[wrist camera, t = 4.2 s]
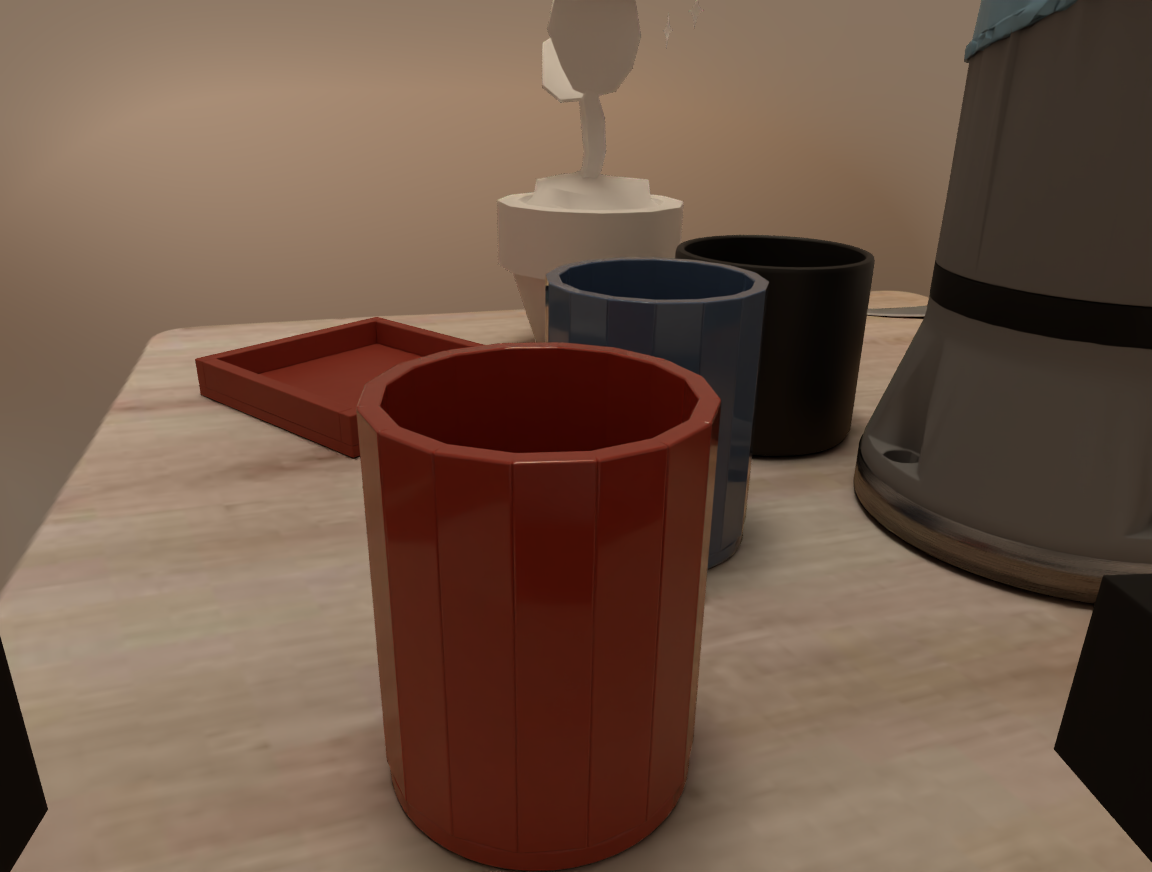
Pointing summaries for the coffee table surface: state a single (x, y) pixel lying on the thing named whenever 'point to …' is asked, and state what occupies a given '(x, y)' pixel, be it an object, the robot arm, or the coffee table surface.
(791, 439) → the mug
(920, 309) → the knife
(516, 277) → the potted plant
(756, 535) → the coffee table surface
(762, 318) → the blue cup
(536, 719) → the red cup
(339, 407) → the red tray
